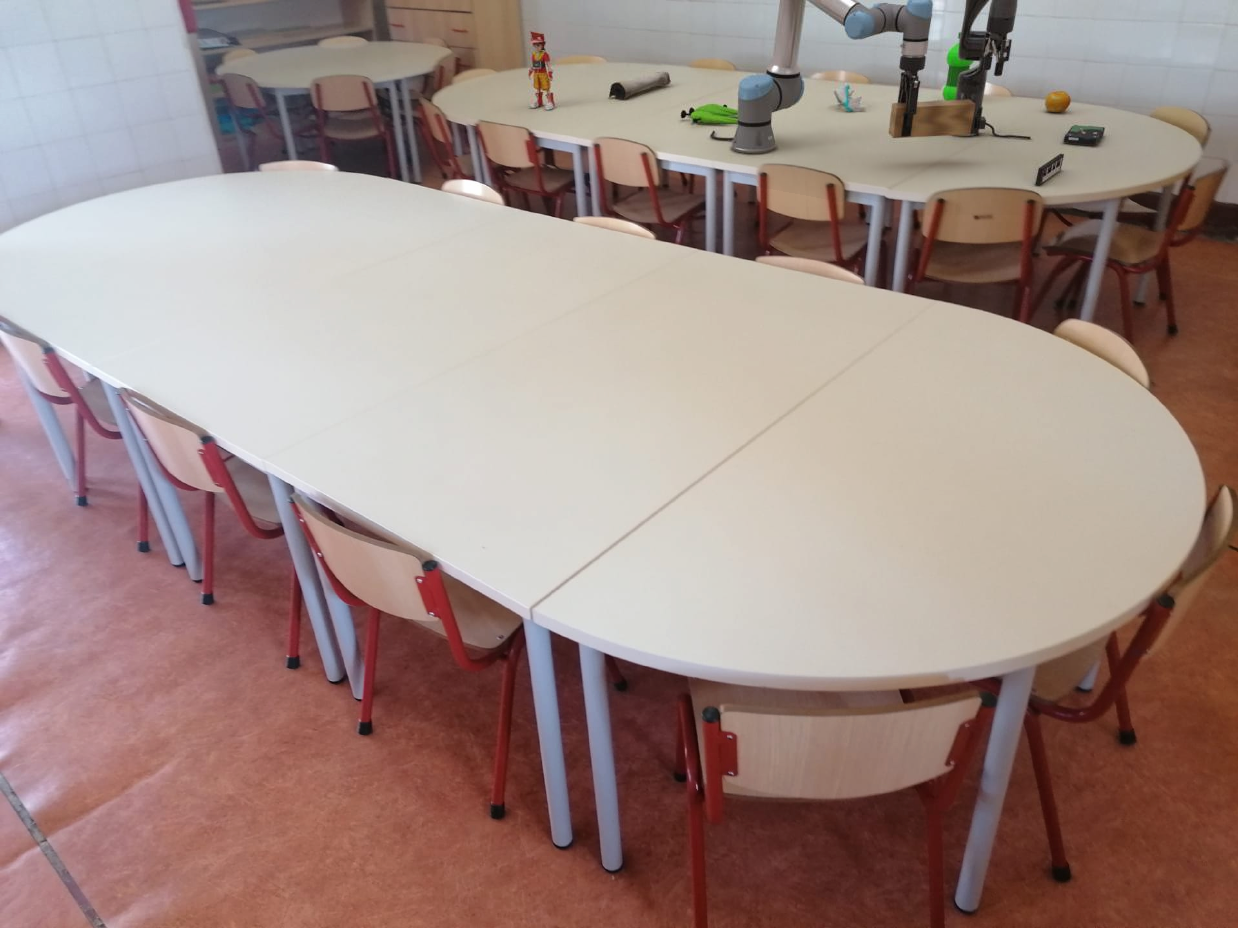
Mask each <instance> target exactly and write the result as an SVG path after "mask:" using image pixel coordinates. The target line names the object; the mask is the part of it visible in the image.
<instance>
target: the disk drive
mask: <svg viewBox="0 0 1238 928" xmlns="http://www.w3.org/2000/svg"><path fill="white" fill-rule="evenodd" d="M1105 129H1106V127H1104V126H1093V125H1078V124H1074V125H1072V126H1071V127H1070V128H1069V130H1068V131H1067V132H1066V134H1064V138H1063V143H1066V144H1071V145H1080V146H1097V145H1098V143H1099V141H1100V140H1101V139H1102V137H1103V136H1104V134H1105Z"/></svg>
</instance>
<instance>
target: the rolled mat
mask: <svg viewBox="0 0 1238 928" xmlns="http://www.w3.org/2000/svg"><path fill="white" fill-rule="evenodd" d="M671 83H672V81H671V77H670V74H669V72H668V71H658V72H654V73H649V74H645V75H640V76H637V77H633V78H628V79H623V80H620V81H616V82H613V83H612V84H611V85H610V89H609V95H608V97H609V98H611V97H616V99H620V100H622V101H623V100H626V99H627V98H629V97H630V96H632V95H635V94H636V93H638V92H640V91H643V90H644V89H647V88H650V87H655V86H658V87H659V86H661V87H665V86H669V85H670V84H671Z"/></svg>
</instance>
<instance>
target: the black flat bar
mask: <svg viewBox="0 0 1238 928" xmlns="http://www.w3.org/2000/svg"><path fill="white" fill-rule="evenodd" d="M1064 157H1065V153H1059V154H1058V155H1056V156H1055V157H1052V159H1051V160H1049V161H1047V162H1045V164H1042V165H1041V166H1039V167H1038V169H1037V175H1036V179H1035V186H1040V185H1042V183H1044V182H1045V181H1047V180H1048V179H1049V178H1051V177H1052V176H1054V175H1055V174H1056V173H1058V172H1060V171H1061V170H1062V165H1063V161H1064Z"/></svg>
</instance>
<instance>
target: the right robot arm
mask: <svg viewBox="0 0 1238 928" xmlns="http://www.w3.org/2000/svg"><path fill="white" fill-rule="evenodd" d="M989 1H990V5H989V11H988V16H987V21H986V27H985V30H972V28H973V25H974V23H975V21H976V20H977V18H978V17H979V15H980V14H981V12H982V10H983V9H984V8H985V7H986V6H987V4H988V3H989ZM1018 2H1019V1H1018V0H965V5H964V6H965V7H964V13H963V19H962V25H961V30H960V32H961V35H960V41H959V40H958V43H959V47H958V58H959V59H960V60H964V61H973V62H978V64H977V65H976V66H974V67H972V68H969V70H966V71H963V72H961V73H960V74H959V77H958V83H957V90H956V96H955V100H966V99H970V100H971V101H972V102H973V103H975V109H974V115H973V121H972V127H971V133H970V134H968V135H954V136H956V137H973V136H979V131H980V130H985V129H986V127H989V128H990V129H991V134H992V135H993V136H994V137H995V138H996V137H998V138H1015V139H1025V140H1031V138H1032V137H1031V136H1029V135H1028V136H1026V135H1015V134H1002V135H1000V134H997V133H995V128H994V126H993V125H992V124H990V123H988V122H987V119H986V117H985V116H983V109H984V107H983V102H984V96H985V90H986V83H987V79H988V72H989V71H991V69H992V63H993V58H994V57H995V66H994V71H993V76H995V77H1001V76H1002V75H1003V71H1004V66H1005V63H1006V62H1009V60H1010V56H1011V50H1012V43H1013V42H1012V41H1013V40H1012V38H1008V34H1010V33H1012V32H1013V31H1014V28H1015V21H1016V16H1017V12H1018V11H1017V10H1018V4H1019V3H1018ZM993 56H994V57H993Z"/></svg>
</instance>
